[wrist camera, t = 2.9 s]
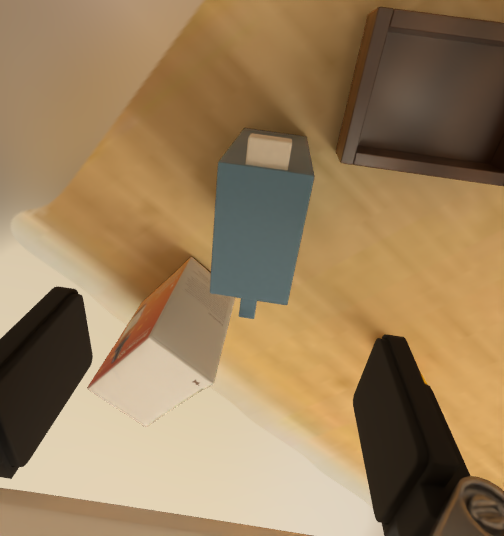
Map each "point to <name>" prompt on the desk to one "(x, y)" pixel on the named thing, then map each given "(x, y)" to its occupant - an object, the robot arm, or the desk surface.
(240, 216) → the blue box with handle
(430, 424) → the robot arm
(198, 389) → the small box
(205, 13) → the desk surface
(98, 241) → the desk surface
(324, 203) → the desk surface
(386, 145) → the holder
